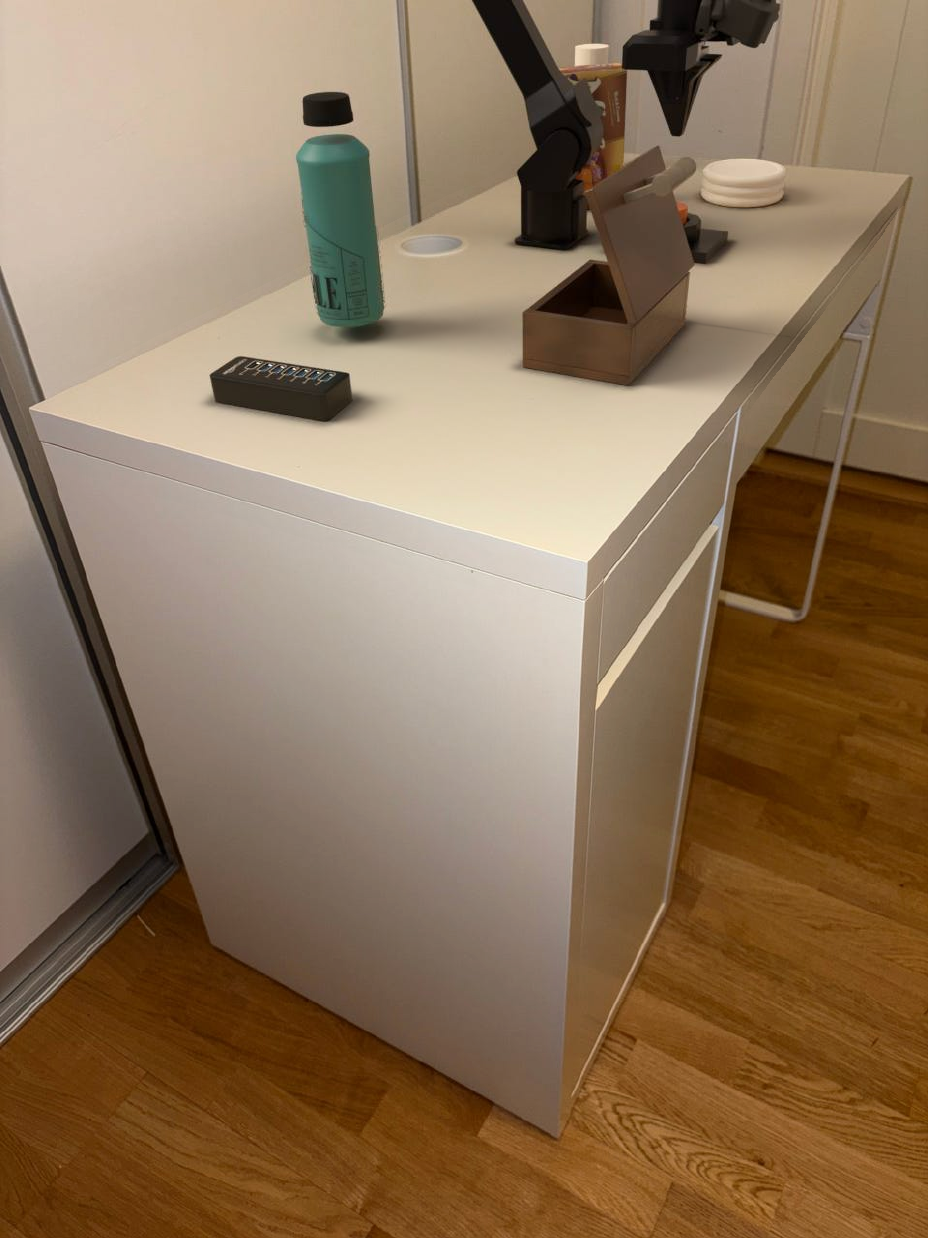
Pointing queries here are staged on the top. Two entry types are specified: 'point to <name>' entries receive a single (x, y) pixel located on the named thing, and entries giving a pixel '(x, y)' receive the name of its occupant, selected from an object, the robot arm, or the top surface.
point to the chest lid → (643, 229)
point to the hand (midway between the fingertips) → (677, 135)
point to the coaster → (743, 182)
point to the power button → (682, 211)
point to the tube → (591, 54)
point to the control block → (703, 239)
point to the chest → (598, 327)
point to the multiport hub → (282, 388)
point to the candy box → (604, 117)
